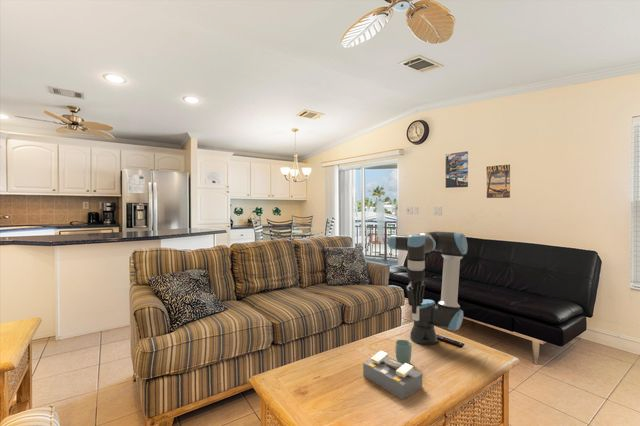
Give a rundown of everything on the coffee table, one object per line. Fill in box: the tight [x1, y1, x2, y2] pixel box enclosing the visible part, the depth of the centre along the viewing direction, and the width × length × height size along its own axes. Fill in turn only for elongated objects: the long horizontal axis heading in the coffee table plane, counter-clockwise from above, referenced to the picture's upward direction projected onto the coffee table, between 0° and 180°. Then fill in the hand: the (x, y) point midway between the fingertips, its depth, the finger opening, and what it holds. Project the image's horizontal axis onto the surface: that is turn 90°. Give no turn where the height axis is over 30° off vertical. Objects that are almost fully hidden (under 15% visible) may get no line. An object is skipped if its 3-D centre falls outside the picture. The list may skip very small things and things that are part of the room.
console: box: [362, 356, 423, 400], centre depth 138 cm, size 14×22×7 cm, turn 39°
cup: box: [395, 339, 413, 364], centre depth 155 cm, size 8×8×10 cm
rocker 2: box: [385, 358, 401, 367], centre depth 139 cm, size 7×4×2 cm, turn 129°
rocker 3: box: [396, 363, 415, 378], centre depth 133 cm, size 7×4×2 cm, turn 128°
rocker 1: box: [370, 350, 389, 364], centre depth 143 cm, size 7×4×2 cm, turn 128°
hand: (415, 319), depth 140 cm, fingers closed
